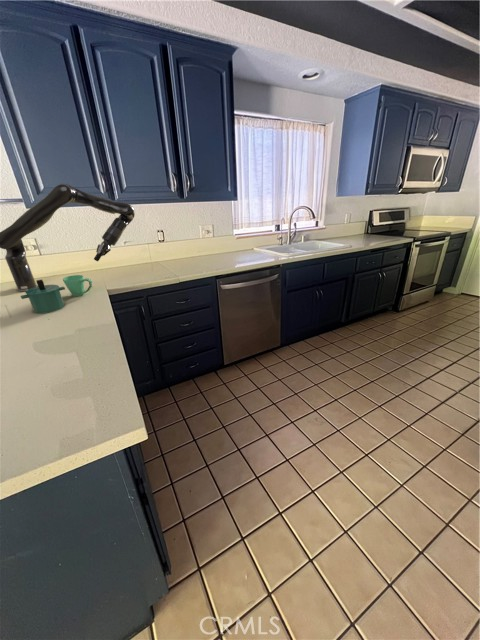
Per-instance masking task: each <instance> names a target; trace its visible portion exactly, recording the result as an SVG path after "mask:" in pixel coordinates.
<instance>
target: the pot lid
mask: <svg viewBox="0 0 480 640" xmlns="http://www.w3.org/2000/svg"><path fill="white" fill-rule="evenodd" d="M36 283H37V284H36V285H37V287H34V288H31V289H28V290H27V291H24V293H25V295H41V294H46V293H50V292H53V291H56V290H58V289H59V287H60V286H59V285H58V284H45V283H44V281H43V279H37V280H36Z"/></svg>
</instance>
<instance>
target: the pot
mask: <svg viewBox="0 0 480 640" xmlns="http://www.w3.org/2000/svg"><path fill="white" fill-rule="evenodd" d="M65 290H66V286H59V289H58V290H56V291H53V292H50V293H46V294H41V295H27V294H22V295H20V298H21V300H25V299H28V300H29V302H30V306H31V308H32V310H33V312H34V313H36V314H47V313H48V314H49V313H53V312H56V311H58V310H60V309H62V308H64V307H65V303H64V300H63V297H62V294H61V291H65Z"/></svg>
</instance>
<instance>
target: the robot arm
mask: <svg viewBox="0 0 480 640" xmlns="http://www.w3.org/2000/svg"><path fill="white" fill-rule="evenodd" d="M71 203H75V204H81V205H85V206H88V207H90V208H93V209H96V210H98V211H101V212H103V213H108V214H112V215H115V214H119V215H118V217H115V218H114V219H113V221H112V222H111V223H110V225H109V227H107V229H106V230H105V231H104V233H103V234H102V236H101V239H102V240H103V241H102V242H100V244H98V245H97V247H96V250H95V252H96V255H95V256H94V257H93V260H94V261H96V262H99V261H100V259H101V258H102V257H103V256H104V257H105V256H106V255H107V254H109V252H111V247H112V246H113V247H114V246H116V244H118V243H117V242H118V241H119V239H120V238H121V237H122V235H123V233H124V231H125V230H126V228H127V227H128V226H129V225H130V224H131V222H132V221H133V220H134V218H135V217H136V214H135V208H134V207H133V205H131V204H129V203H126V202H121V201H114V200H112V199H109V198H104V197H102V196H97V195H94V194H91V193H87V192H85V191H82V190H80V189H78V188H76V187H74V186H72V185H70V184H67V183H59V184H57V185H56V186H54V187H53V188H52V189H51V190H50V192H49V193H48V194H47V195H46V196H45V197H44V198H42V199H41V200H40V201H38V202H36V203H35V204H34V205H33V206H31V207H30V208H29V209H27V210H26V211H25V212H24V213H22V215H21V216H19V217H18V218H16V220H15V221H14V222H13V223H12V224H11V225H9V226H8V227H6V228H5V229H3V230H1V231H0V249H1V250H5V253H6V254H5V256H4V259H5V261H6V264H7V266H8V268H9V269H8V270H9V272H10V273H11V276H12V279H13V281H14V283H15V286H16V288H17V291H18V292H26V291H27V290H28V289H31V288H34V287H38V284H36V283H37V282H36V280H35V278H34V275H33V273H32V269H31V266H30V265H29V262H28V259H27V251H26V248H25V245H24V242H23V240H22V239H23V238H24V237H26V236H27V235H29V234H31V233H33V232H35V231H37V230H38V229H40V228H42V227H43V226H44V225H45V224H47V223H48V222H49V221H50V220H51V219H52V217H53V216H54V214H55V213H56V212H57V210H59V209H61V208H62V207H64V206H65V205H67V204H71Z"/></svg>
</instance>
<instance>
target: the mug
mask: <svg viewBox="0 0 480 640" xmlns="http://www.w3.org/2000/svg"><path fill="white" fill-rule="evenodd" d="M62 281H63V283H64V285H65V287H66V288H67V289H68V291H69V292H70V294H71V295H72V296H73V297H81V296H83V295H84V294H86V293H88V292H89V291H90V290H91V289H92V288H93V280H91V278H84V275H82V274H74V275H68V276H64V277H63V278H62ZM84 282H88V285H89V286H88V288H87V289H86V290H85V289H84V288H85V283H84Z"/></svg>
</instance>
